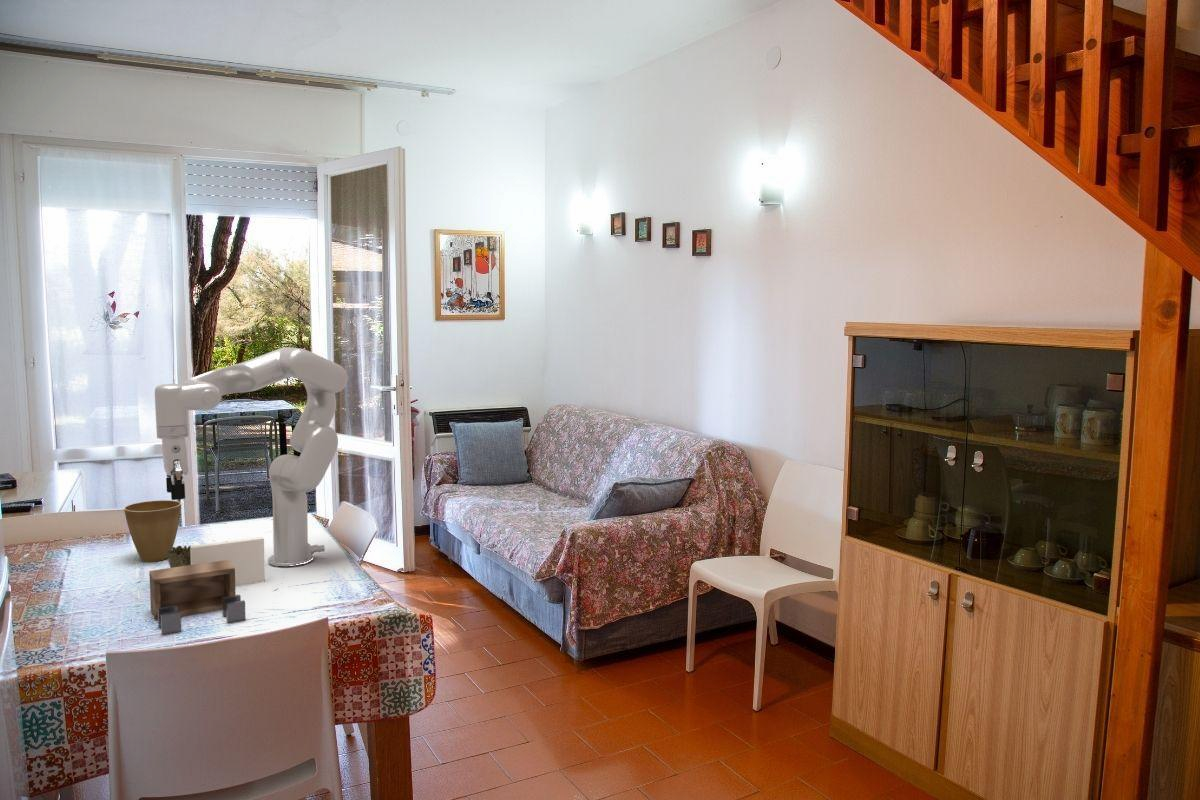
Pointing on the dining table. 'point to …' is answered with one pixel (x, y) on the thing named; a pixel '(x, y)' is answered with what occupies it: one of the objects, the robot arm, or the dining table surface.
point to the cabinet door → (235, 557)
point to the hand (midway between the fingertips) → (175, 495)
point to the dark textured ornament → (179, 556)
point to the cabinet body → (192, 587)
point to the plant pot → (153, 527)
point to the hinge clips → (172, 617)
